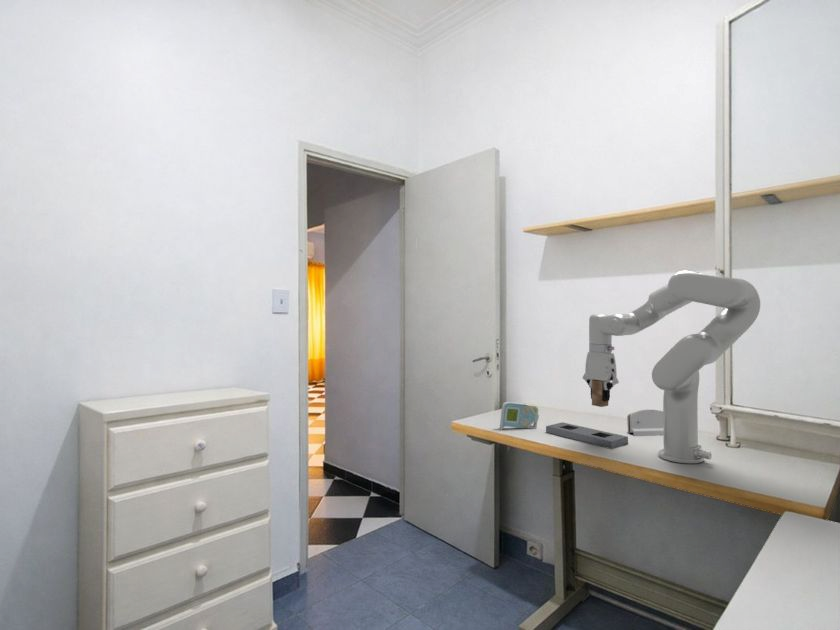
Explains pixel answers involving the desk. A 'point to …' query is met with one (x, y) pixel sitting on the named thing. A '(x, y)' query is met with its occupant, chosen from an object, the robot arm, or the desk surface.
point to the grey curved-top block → (645, 423)
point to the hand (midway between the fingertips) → (600, 399)
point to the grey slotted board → (587, 435)
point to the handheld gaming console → (518, 415)
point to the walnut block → (598, 394)
